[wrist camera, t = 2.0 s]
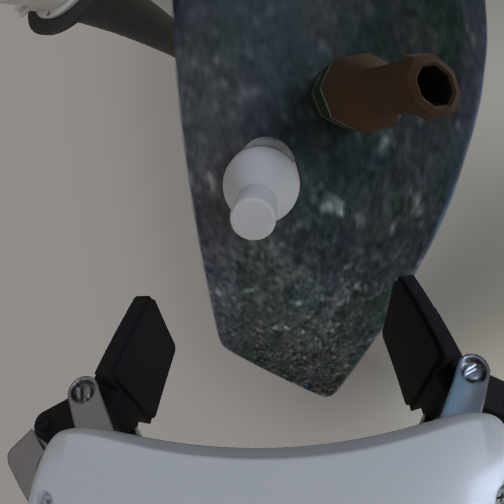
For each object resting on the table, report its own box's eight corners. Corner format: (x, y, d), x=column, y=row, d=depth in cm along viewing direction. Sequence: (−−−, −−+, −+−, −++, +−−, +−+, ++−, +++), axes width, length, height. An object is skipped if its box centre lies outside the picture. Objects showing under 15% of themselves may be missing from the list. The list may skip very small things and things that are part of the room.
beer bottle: (337, 58, 26) (428, -7, 6) (377, 103, 29) (507, 116, 8) (295, 93, 29) (326, 60, 9) (336, 137, 32) (426, 192, 11)
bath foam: (234, 142, 33) (183, 182, 16) (286, 129, 32) (295, 153, 14) (248, 190, 36) (218, 275, 19) (298, 179, 35) (316, 257, 18)
